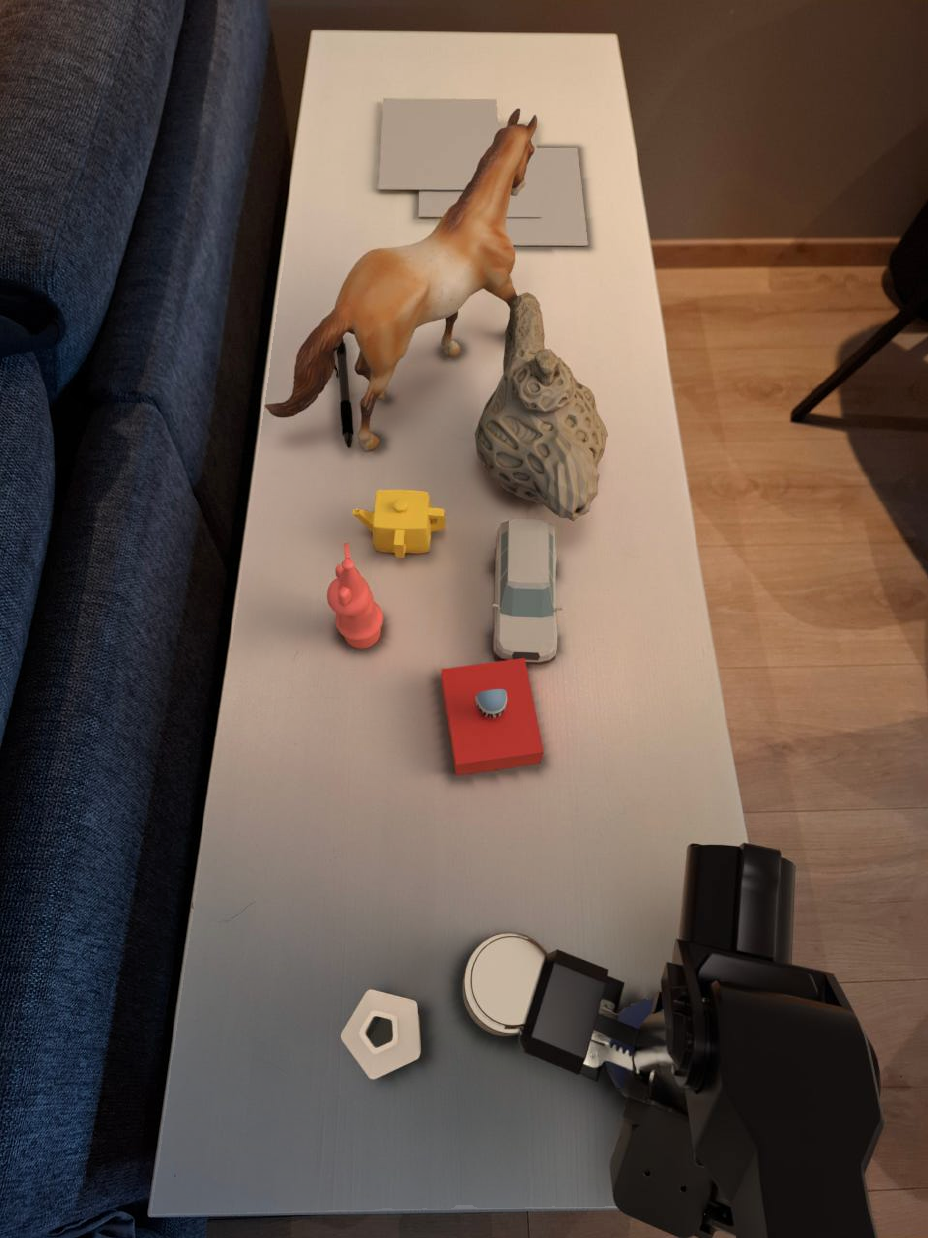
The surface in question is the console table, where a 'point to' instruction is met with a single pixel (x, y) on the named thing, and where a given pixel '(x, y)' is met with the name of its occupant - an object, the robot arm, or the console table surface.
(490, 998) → the jar
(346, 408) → the pen
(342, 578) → the figurine
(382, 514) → the teapot
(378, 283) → the horse figurine
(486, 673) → the red box
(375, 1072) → the white pentagonal vase
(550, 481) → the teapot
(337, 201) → the console table surface
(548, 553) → the toy car
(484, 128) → the paper stack
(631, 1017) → the jar lid
